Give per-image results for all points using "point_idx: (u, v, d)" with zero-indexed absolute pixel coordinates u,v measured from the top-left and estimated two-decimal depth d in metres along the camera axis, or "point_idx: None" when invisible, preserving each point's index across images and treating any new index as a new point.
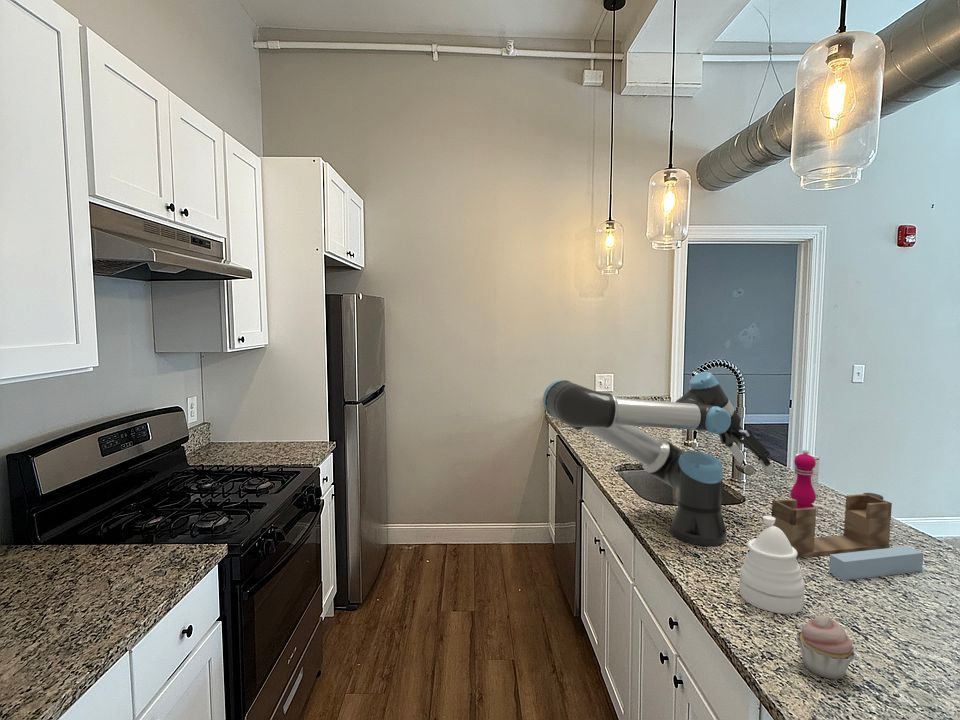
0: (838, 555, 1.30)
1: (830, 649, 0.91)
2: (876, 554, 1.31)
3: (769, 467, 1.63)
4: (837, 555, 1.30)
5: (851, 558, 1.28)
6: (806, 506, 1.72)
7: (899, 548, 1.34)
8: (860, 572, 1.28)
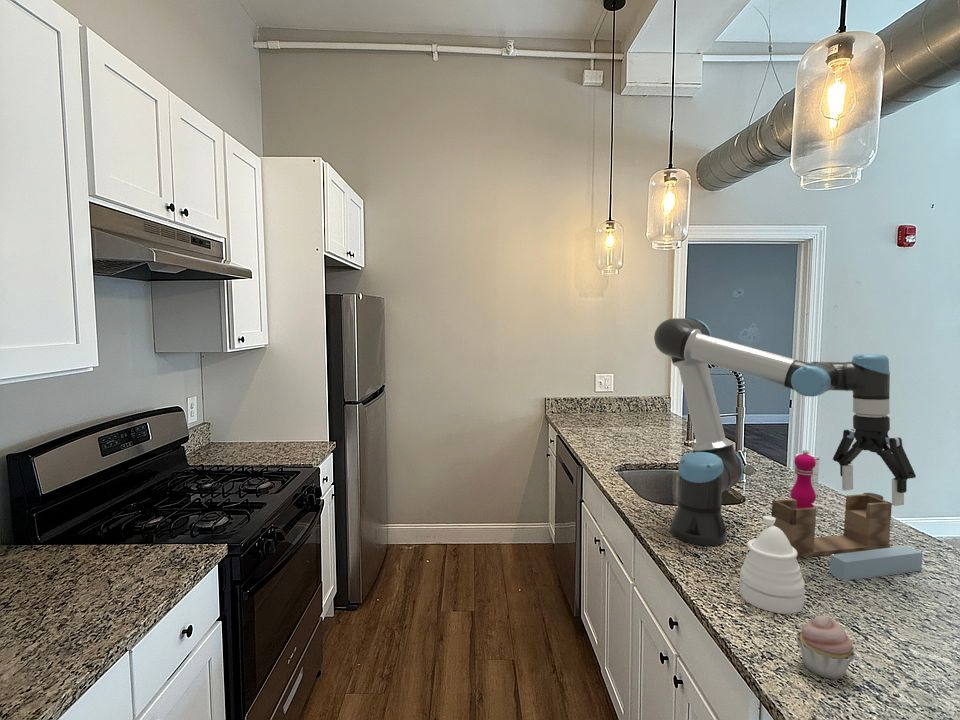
0: (838, 555, 1.30)
1: (830, 649, 0.91)
2: (876, 554, 1.31)
3: (900, 497, 1.28)
4: (837, 555, 1.30)
5: (851, 559, 1.28)
6: (806, 506, 1.72)
7: (898, 548, 1.34)
8: (860, 572, 1.28)
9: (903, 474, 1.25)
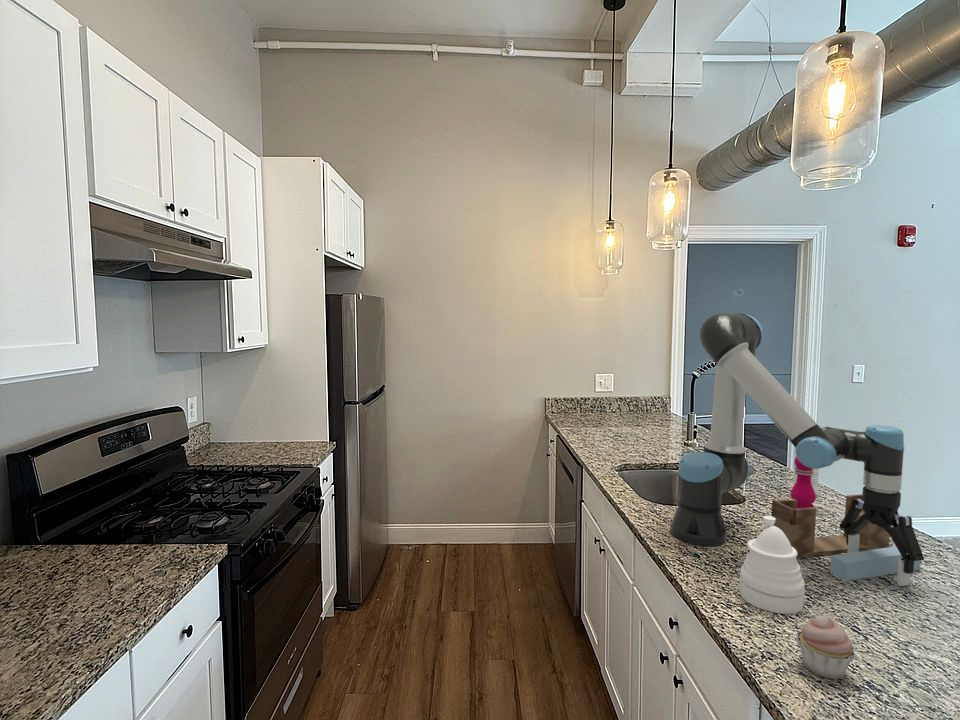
0: (839, 556, 1.30)
1: (830, 649, 0.91)
2: (876, 554, 1.31)
3: (906, 578, 1.24)
4: (838, 556, 1.30)
5: (852, 559, 1.28)
6: (806, 506, 1.72)
7: None
8: (861, 572, 1.28)
9: (911, 556, 1.22)
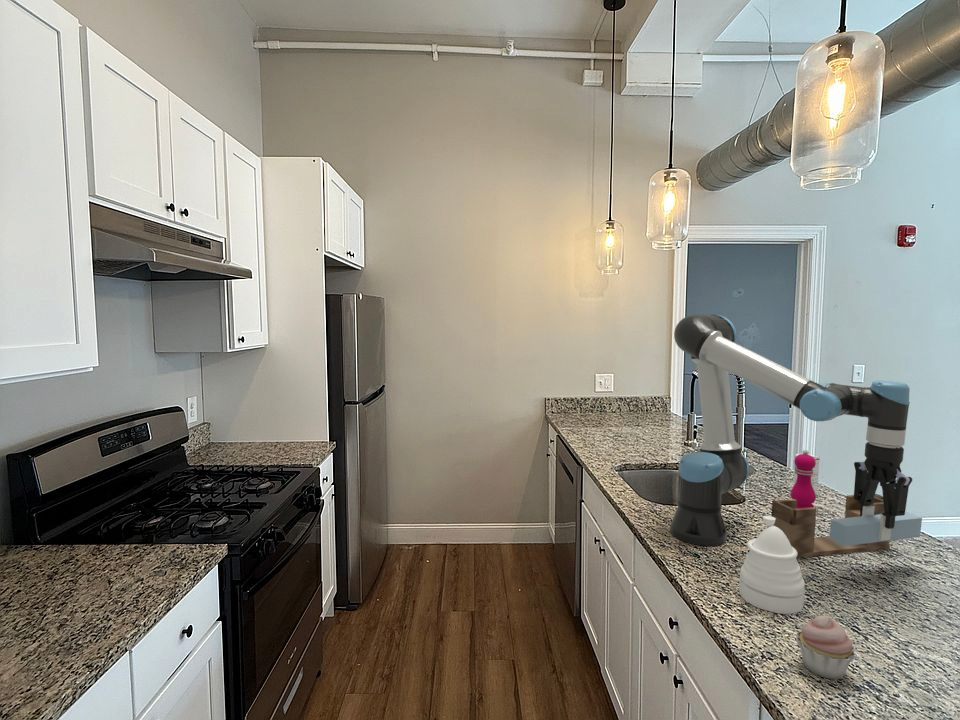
0: (839, 520, 1.30)
1: (830, 649, 0.91)
2: (876, 519, 1.30)
3: (887, 533, 1.28)
4: (838, 520, 1.30)
5: (852, 523, 1.28)
6: (806, 506, 1.72)
7: None
8: (860, 536, 1.28)
9: (893, 511, 1.25)
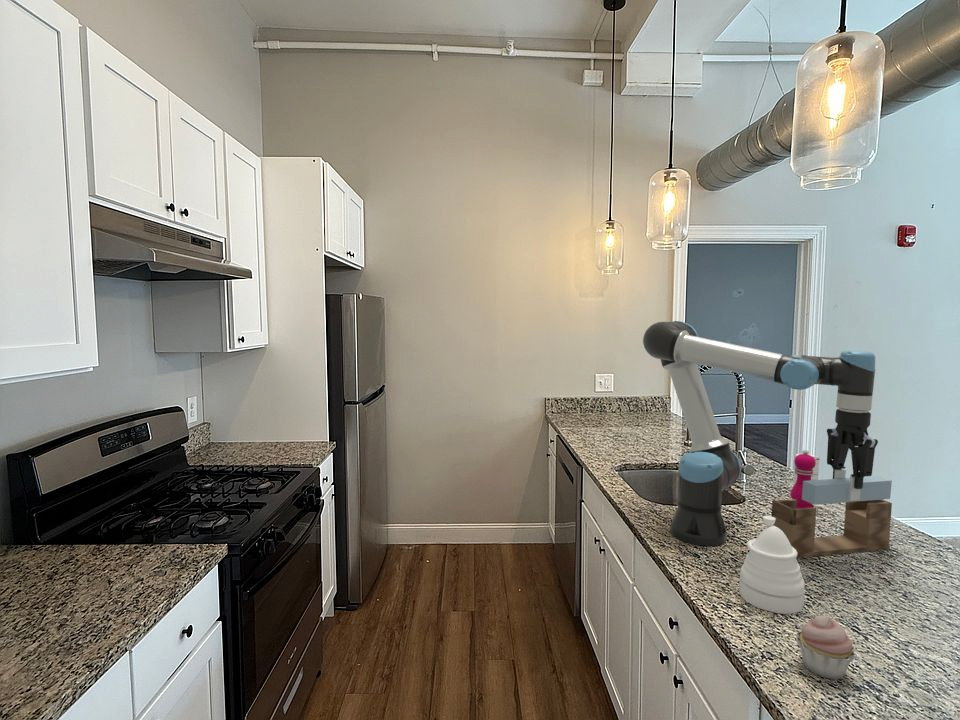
0: (811, 481, 1.38)
1: (830, 649, 0.91)
2: (847, 481, 1.39)
3: (856, 493, 1.37)
4: (810, 481, 1.38)
5: (822, 483, 1.36)
6: (806, 506, 1.72)
7: (869, 477, 1.42)
8: (830, 496, 1.36)
9: (861, 471, 1.34)
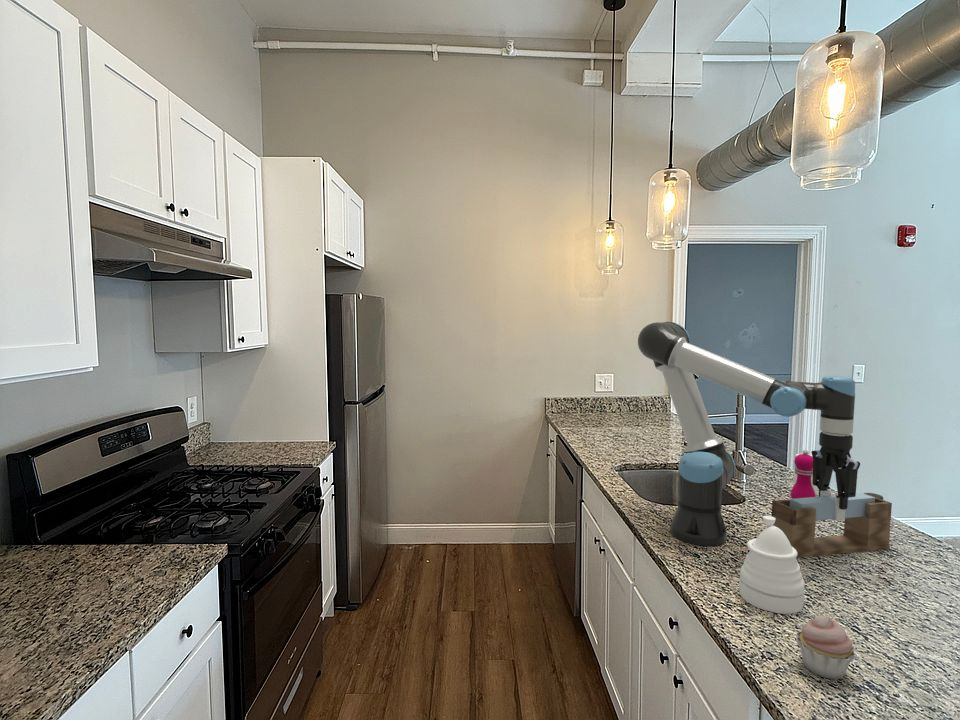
0: (797, 499, 1.43)
1: (830, 649, 0.91)
2: (832, 498, 1.44)
3: (841, 513, 1.42)
4: (796, 499, 1.43)
5: (808, 502, 1.41)
6: None
7: None
8: (816, 514, 1.41)
9: (845, 493, 1.39)
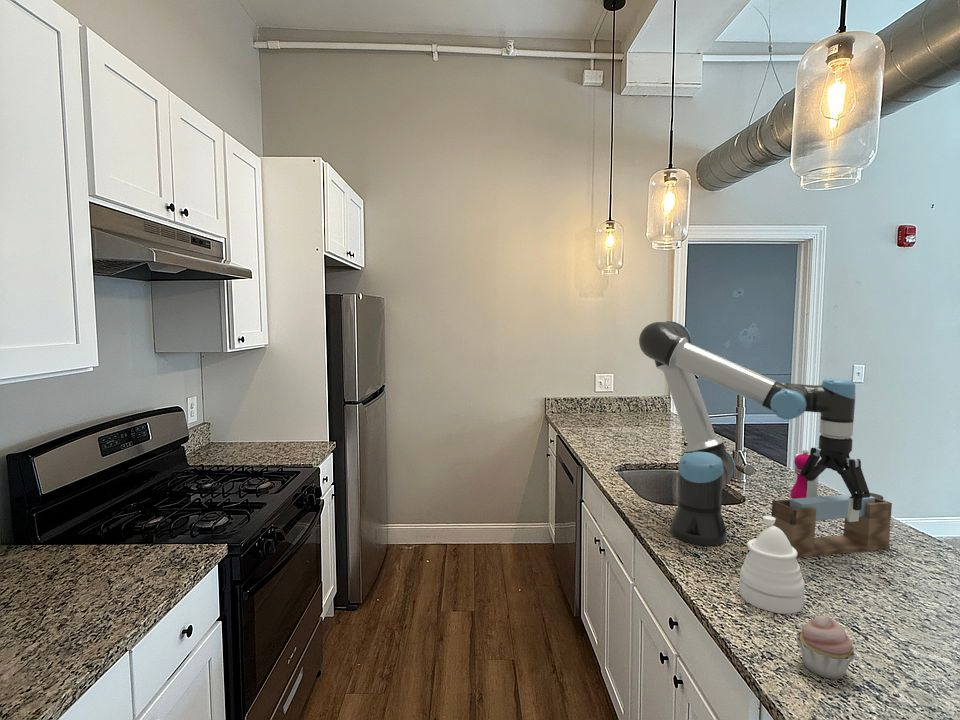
0: (797, 499, 1.43)
1: (830, 649, 0.91)
2: (832, 499, 1.44)
3: (855, 514, 1.37)
4: (796, 499, 1.43)
5: (808, 502, 1.41)
6: None
7: None
8: (816, 514, 1.41)
9: (858, 493, 1.35)
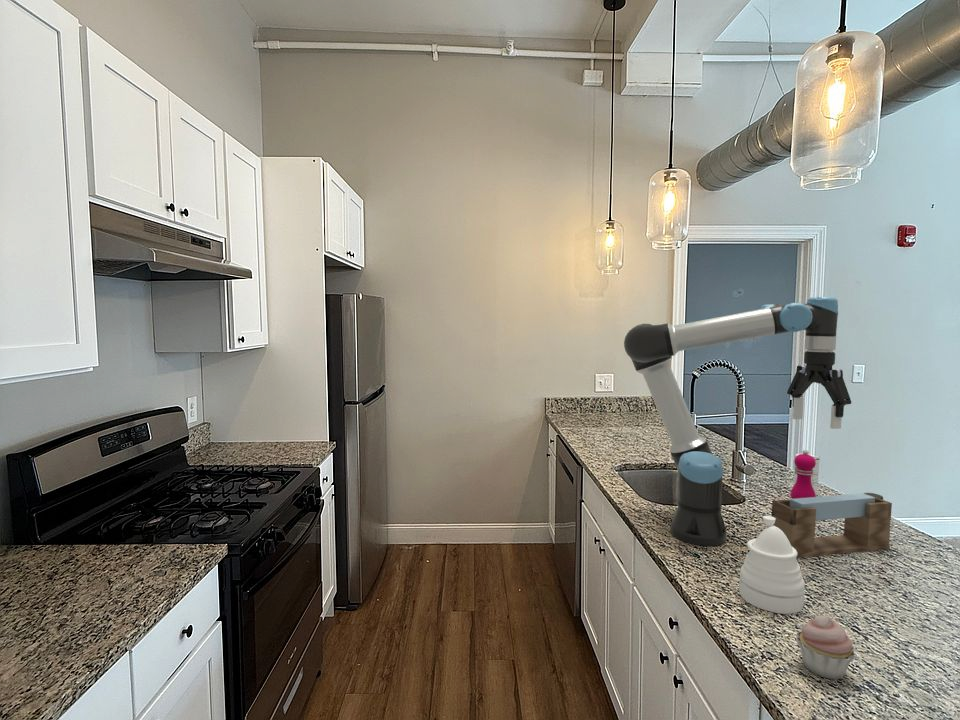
0: (797, 499, 1.43)
1: (830, 649, 0.91)
2: (832, 499, 1.44)
3: (837, 422, 1.46)
4: (796, 499, 1.43)
5: (808, 502, 1.41)
6: None
7: (854, 494, 1.47)
8: (816, 514, 1.41)
9: (840, 400, 1.43)
